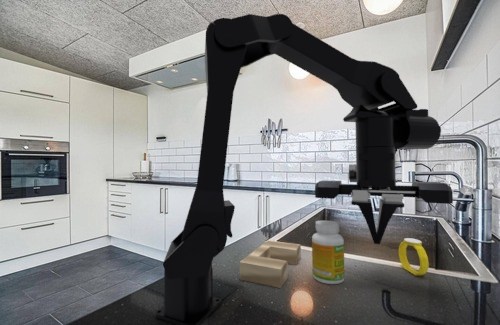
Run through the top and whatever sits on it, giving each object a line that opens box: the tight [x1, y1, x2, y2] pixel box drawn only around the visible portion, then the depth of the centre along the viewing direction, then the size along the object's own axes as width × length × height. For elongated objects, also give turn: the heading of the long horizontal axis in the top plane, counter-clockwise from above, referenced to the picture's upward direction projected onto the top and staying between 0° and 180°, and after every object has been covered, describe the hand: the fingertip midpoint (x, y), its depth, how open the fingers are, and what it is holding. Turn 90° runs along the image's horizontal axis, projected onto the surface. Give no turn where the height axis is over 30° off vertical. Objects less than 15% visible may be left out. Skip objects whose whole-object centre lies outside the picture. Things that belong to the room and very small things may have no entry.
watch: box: [398, 237, 430, 276], centre depth 44 cm, size 6×3×6 cm, turn 3°
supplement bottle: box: [311, 220, 345, 285], centre depth 42 cm, size 5×5×10 cm
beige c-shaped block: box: [239, 240, 302, 289], centre depth 47 cm, size 14×8×3 cm, turn 155°
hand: (376, 243), depth 39 cm, fingers closed
